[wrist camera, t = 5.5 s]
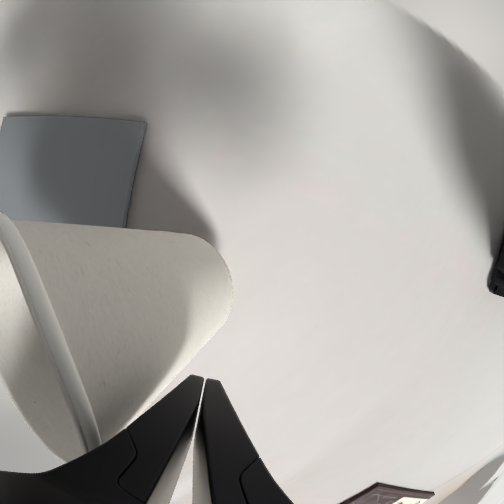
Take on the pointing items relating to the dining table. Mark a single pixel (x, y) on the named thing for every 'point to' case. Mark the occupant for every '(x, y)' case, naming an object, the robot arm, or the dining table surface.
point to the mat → (68, 169)
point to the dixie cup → (100, 323)
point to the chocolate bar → (389, 495)
